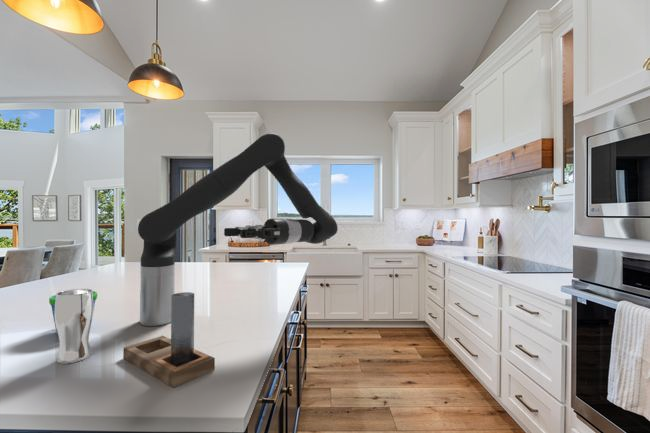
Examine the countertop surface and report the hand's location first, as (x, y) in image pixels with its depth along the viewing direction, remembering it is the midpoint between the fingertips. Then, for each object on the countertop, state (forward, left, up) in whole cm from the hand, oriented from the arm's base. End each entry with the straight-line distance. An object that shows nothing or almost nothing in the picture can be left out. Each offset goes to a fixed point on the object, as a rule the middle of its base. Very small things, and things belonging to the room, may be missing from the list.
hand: (232, 233), depth 85 cm
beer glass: (-20, -28, -28) cm, 44 cm away
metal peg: (+6, -17, -28) cm, 33 cm away
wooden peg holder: (0, -17, -28) cm, 33 cm away
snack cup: (-40, -22, -28) cm, 53 cm away
